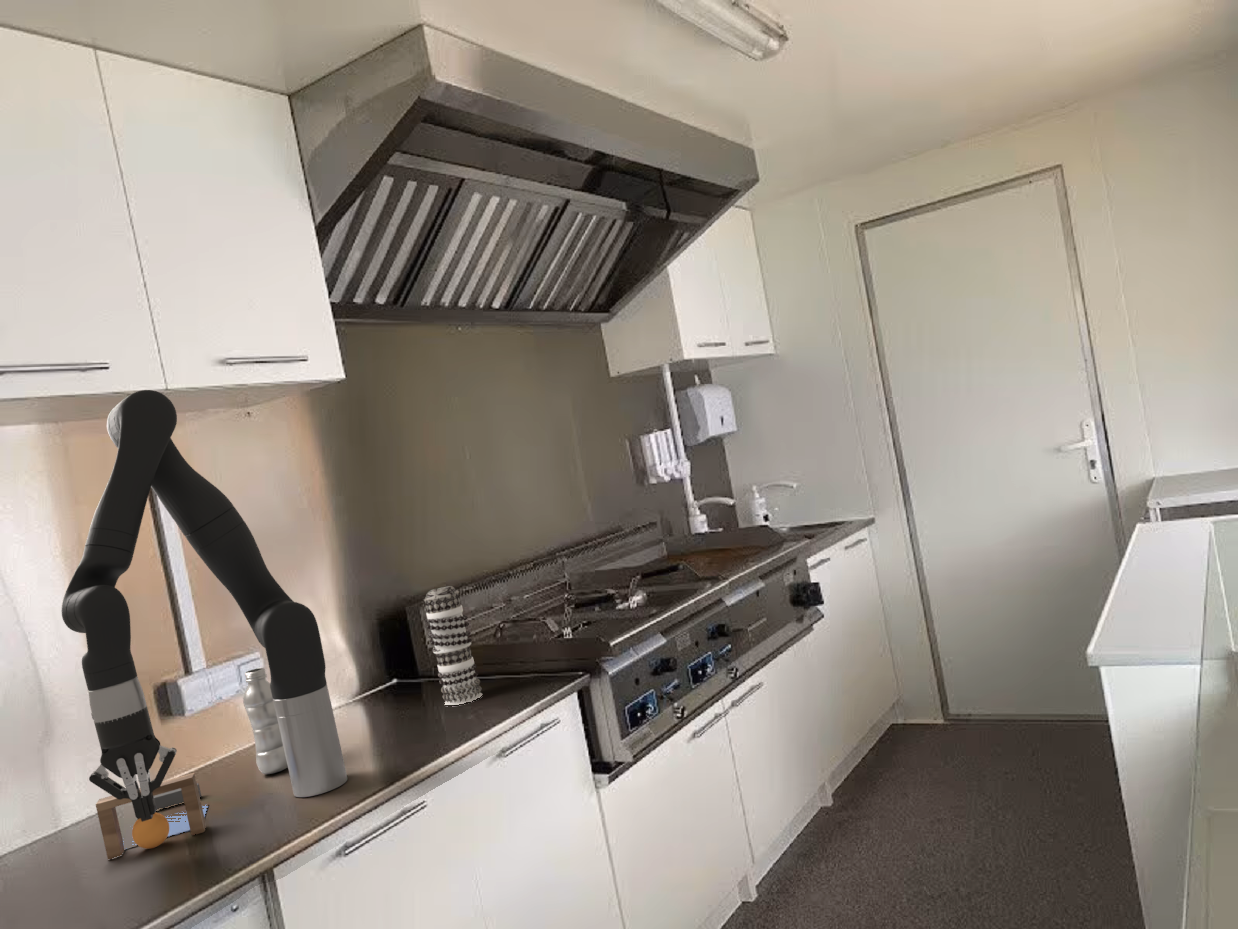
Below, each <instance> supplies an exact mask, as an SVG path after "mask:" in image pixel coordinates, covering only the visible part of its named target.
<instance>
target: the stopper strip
mask: <svg viewBox="0 0 1238 929" xmlns="http://www.w3.org/2000/svg"><path fill="white" fill-rule="evenodd" d="M199 783H200V782H197V787H198V791H199V796H200V797H201V798H202V792H201V787H200V784H199ZM153 797H154V801H155V805H156V810H157V809H159V808H165V807H168V806H171V805H174V804H179V803H182V802H184V800H183V795H182V791H181V788H180V789H176V790H173V791H169V792H166V793H162V794H158V795H155V796H153Z"/></svg>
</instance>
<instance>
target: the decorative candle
mask: <svg viewBox="0 0 1238 929" xmlns="http://www.w3.org/2000/svg"><path fill="white" fill-rule="evenodd" d="M459 593H460V590H457V589H456V588H455V587H454V586H452V585H447V586H441V587H437V588H434V589H431V590H429V591H427V593H426V595H425V598H423V599H422V601H424V606H425V611H426V612H425V615H426V617H425V618H424V621H425V622H426V624H425V626H424V627H426V628H427V630H429V631H428V633H427V635H428V636H429V638H430V640H429V643H430V644H431V645H432V646H433V647H432V650H431V651H432V653H433V654H435V657H436V661H437V665H436V666H437V670H438V673H437V677H438V678H439V679H440V680H439V681H438V683H439V685H441V686H442V687H441V688H440V692H441V693H442V694H443V695H442V699H443V700H444V701H445V702H444V703H445V704H444V706H445V705H459V704H464V703H466V702H471V703H473V702H474V701H473V700H476V699H477V698H480V697H481V696H482V695H483V693H482V687H481V685H480V683H481V680H480V679H479V678H478V677H477V676H478V675H479V671H477V670H476V669H477V668H478V665H477V664H475V661H474V656H473V655H472V650H471V645H472V640H473V639H472V638H470V637H469V636H470V635H471V632H470V631H468V630H467V628H468V627H469V625H470V623H469V622H467V621H466V620H467V619H468V615H466V614H463V612H464V608H463V605H462V603H461V598H460V596H459ZM482 697H483V696H482ZM482 697H481V698H482ZM481 698H480V699H481ZM472 701H473V702H472ZM476 701H477V700H476ZM464 705H465V704H464ZM459 706H460V705H459Z"/></svg>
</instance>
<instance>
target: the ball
mask: <svg viewBox="0 0 1238 929" xmlns="http://www.w3.org/2000/svg"><path fill="white" fill-rule="evenodd" d="M132 826H133V828H132V838H133V840H134V842H135V843H136V844H137V845H138V847H139V848H141V849H147V850H148V849H155V848H157V847H159V846H160V845H162V844H163V843H164V842H165V841H166V840H167V839H168V838H167V836H168V834H169V822H168V820H167V819H166V816H164V814H162V813H159V812H155V814H153V818H152V819H149V820H146V821H143V822H142V821H141V818H140V819H137V820H136V821H135V822H134V824H133V825H132Z"/></svg>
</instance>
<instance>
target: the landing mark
mask: <svg viewBox="0 0 1238 929" xmlns="http://www.w3.org/2000/svg"><path fill="white" fill-rule="evenodd" d="M204 805H205V806H203V805H202V808H204V809H203V814H204V818H206V815H207V812H208V809H206V808H209V806H206V805H207V804H204ZM206 811H207V812H206ZM182 812H183V811H182ZM178 813H179V812H175V814H178ZM179 814H187V813H184V812H183V813H179ZM205 814H206V815H205ZM166 816H167V817H166ZM166 816H165V817H166V818H176V819H172V820H171V819H167V820H168V821H174V822H169V834H168V836H167V837H168V838H170V836H172V835H175V836H178V835H181V834H180V833H182V834H184V833H183V832H185V833H188V832H191V831H190V827H189V822H188V818H187V815H186V816H185V815H184V816H182V815H181V816H172V817H171V816H170V817H168V816H169V815H166ZM178 818H181V819H179V820H178ZM175 821H180V822H175ZM185 821H186V822H185ZM172 837H173V836H172ZM123 842H124V841H123ZM132 842H134V841H132ZM132 845H134V844H132ZM135 845H137V844H135ZM126 849H127V848H126Z"/></svg>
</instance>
